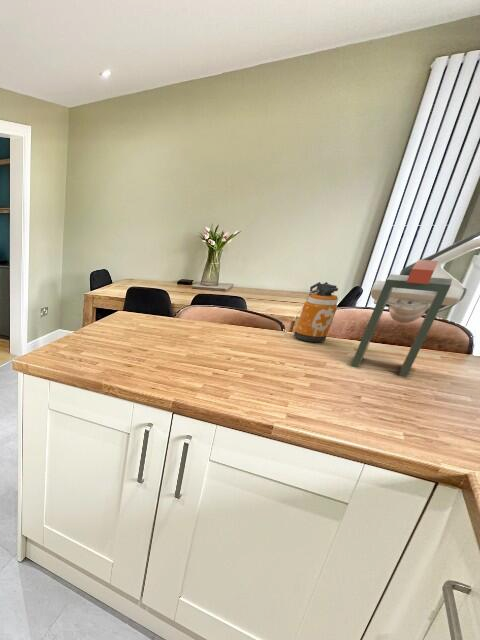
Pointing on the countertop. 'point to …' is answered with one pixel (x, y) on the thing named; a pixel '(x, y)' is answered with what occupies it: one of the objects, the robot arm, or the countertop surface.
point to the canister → (317, 313)
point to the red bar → (422, 271)
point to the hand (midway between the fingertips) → (418, 283)
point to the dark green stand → (434, 285)
